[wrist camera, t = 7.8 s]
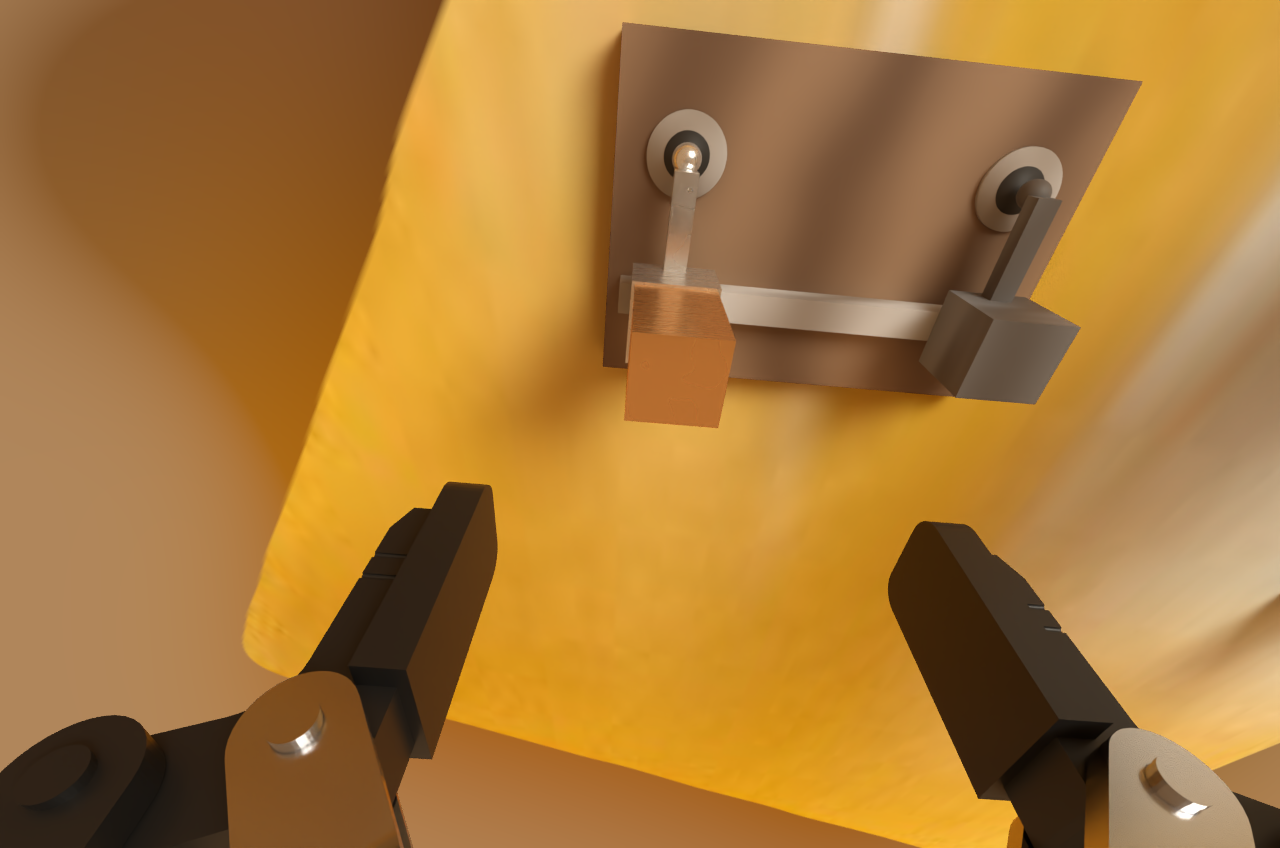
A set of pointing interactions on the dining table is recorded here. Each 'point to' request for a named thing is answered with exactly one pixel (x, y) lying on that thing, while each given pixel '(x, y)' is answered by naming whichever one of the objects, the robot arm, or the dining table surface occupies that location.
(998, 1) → the dining table surface
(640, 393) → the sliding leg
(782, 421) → the dining table surface
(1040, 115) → the brown slider base
